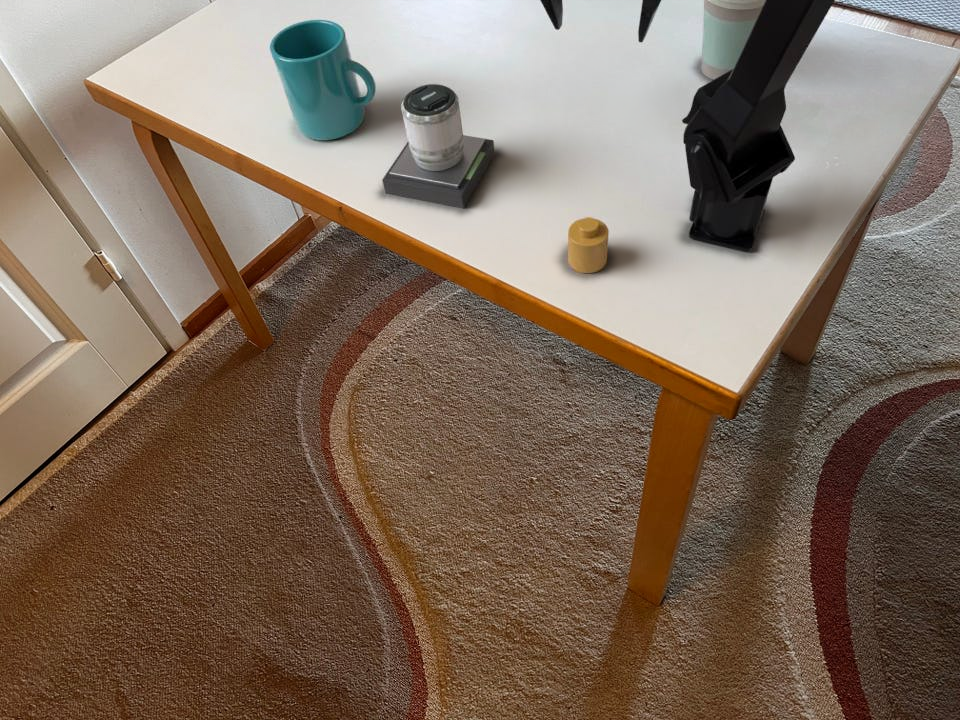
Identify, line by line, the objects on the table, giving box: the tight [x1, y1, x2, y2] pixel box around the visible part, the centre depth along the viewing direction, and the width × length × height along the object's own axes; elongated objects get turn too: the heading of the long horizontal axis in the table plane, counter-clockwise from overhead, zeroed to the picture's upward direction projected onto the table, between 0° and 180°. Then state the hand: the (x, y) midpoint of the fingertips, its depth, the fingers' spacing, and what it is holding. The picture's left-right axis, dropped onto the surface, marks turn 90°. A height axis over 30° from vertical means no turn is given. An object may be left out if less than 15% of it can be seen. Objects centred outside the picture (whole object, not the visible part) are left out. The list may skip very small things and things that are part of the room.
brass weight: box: [567, 216, 610, 274], centre depth 73 cm, size 4×4×5 cm
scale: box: [381, 134, 496, 209], centre depth 84 cm, size 10×10×3 cm
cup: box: [269, 19, 377, 141], centre depth 88 cm, size 9×12×11 cm
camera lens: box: [400, 84, 464, 171], centre depth 80 cm, size 6×6×8 cm
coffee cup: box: [700, 0, 766, 80], centre depth 87 cm, size 8×8×12 cm
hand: (599, 33), depth 76 cm, fingers open, 9 cm apart
